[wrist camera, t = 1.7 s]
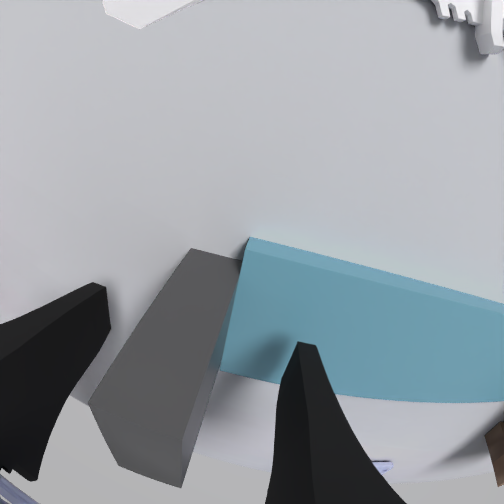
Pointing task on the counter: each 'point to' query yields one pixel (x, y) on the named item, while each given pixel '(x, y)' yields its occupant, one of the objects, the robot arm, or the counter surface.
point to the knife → (461, 3)
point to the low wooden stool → (497, 451)
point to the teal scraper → (288, 344)
